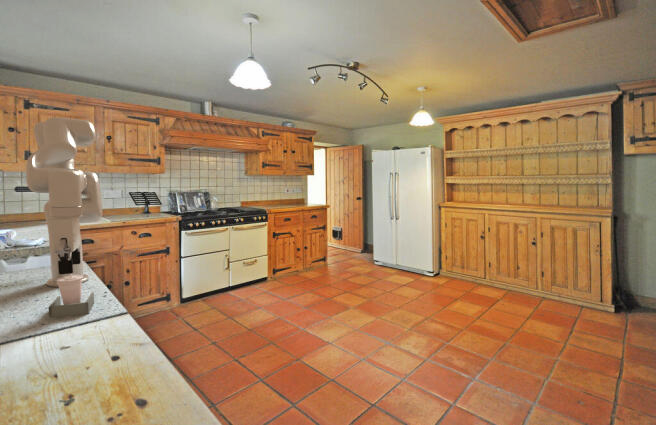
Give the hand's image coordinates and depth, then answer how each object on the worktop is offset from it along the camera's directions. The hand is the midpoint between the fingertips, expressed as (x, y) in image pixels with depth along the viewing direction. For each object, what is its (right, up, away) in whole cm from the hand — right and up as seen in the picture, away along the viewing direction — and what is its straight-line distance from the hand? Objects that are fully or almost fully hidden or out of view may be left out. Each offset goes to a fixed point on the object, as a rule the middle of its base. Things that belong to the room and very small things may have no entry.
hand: (70, 268), depth 101 cm
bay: (0, -13, +1) cm, 13 cm away
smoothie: (0, -12, +1) cm, 12 cm away
